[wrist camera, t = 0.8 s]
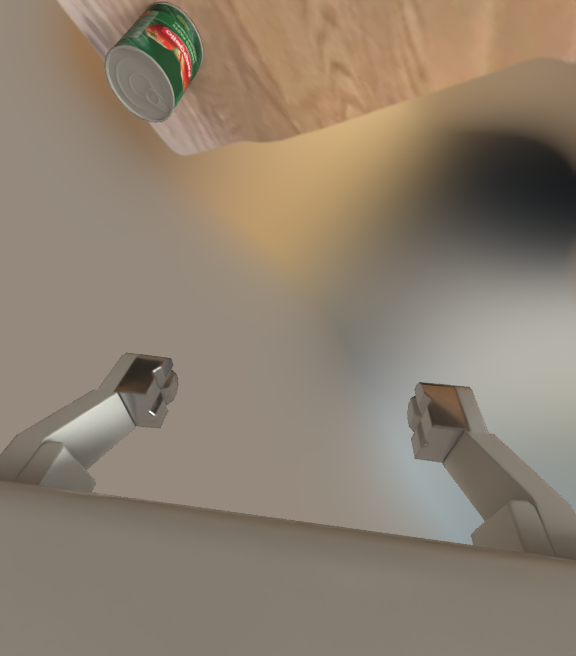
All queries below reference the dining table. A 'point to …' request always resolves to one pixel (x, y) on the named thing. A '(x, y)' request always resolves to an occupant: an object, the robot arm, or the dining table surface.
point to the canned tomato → (155, 62)
